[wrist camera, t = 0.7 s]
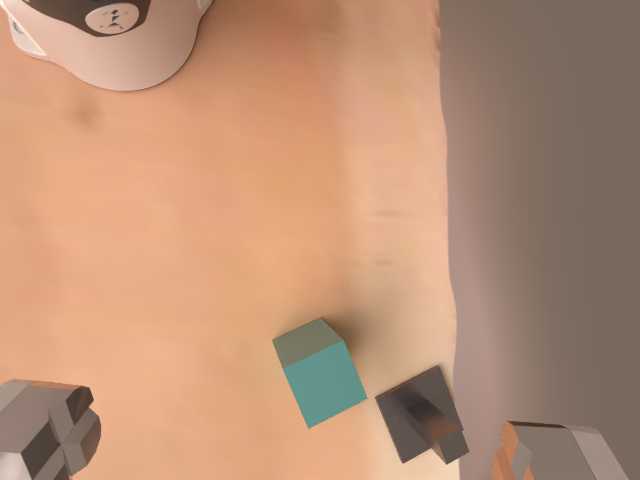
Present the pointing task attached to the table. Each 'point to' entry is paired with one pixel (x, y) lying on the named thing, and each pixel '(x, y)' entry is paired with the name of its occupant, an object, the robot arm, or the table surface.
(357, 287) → the table surface
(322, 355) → the teal upright pillar
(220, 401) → the table surface
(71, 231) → the table surface
